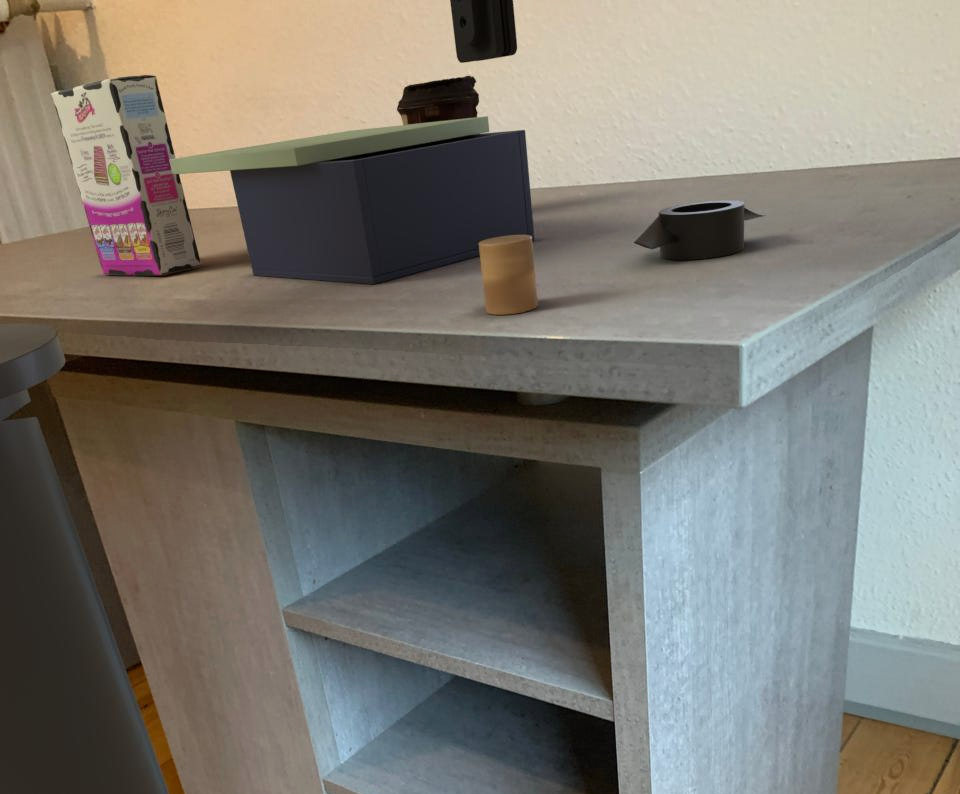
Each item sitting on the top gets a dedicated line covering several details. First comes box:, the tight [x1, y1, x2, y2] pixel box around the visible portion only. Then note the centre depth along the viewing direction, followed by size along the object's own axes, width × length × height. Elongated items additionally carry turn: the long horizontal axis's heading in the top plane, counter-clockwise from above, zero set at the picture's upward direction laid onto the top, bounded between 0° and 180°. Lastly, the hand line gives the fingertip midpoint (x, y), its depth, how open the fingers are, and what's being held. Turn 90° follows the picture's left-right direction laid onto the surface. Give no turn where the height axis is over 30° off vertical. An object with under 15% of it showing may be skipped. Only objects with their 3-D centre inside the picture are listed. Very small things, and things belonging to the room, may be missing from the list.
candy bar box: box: [50, 74, 202, 277], centre depth 93 cm, size 11×5×16 cm, turn 49°
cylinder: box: [479, 235, 539, 316], centre depth 59 cm, size 3×3×4 cm
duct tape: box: [633, 199, 767, 261], centre depth 68 cm, size 8×10×3 cm
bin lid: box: [169, 115, 490, 175], centre depth 85 cm, size 20×20×1 cm
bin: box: [229, 129, 536, 285], centre depth 83 cm, size 18×18×8 cm
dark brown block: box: [396, 75, 480, 125], centre depth 100 cm, size 9×8×13 cm
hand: (487, 58), depth 54 cm, fingers closed
